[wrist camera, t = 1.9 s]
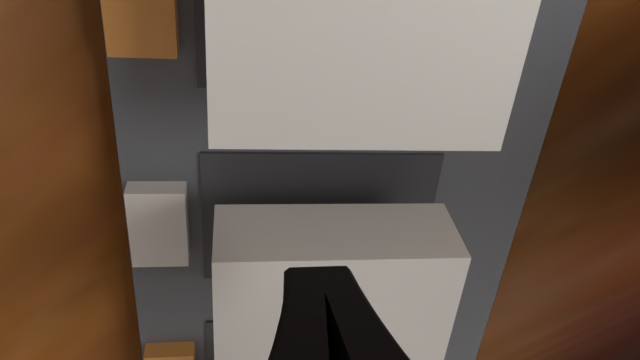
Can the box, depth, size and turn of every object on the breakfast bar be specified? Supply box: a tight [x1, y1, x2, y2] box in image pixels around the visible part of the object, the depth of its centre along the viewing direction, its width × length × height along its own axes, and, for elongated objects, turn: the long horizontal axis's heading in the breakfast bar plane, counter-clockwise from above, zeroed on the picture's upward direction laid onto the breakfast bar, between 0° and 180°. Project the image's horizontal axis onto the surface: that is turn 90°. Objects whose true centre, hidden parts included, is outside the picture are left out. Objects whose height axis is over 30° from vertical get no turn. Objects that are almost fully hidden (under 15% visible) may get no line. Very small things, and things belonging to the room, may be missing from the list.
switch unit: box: [99, 0, 588, 360], centre depth 23 cm, size 15×26×2 cm, turn 176°
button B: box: [212, 203, 471, 360], centre depth 19 cm, size 8×4×3 cm, turn 86°
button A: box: [204, 0, 541, 151], centre depth 15 cm, size 8×4×3 cm, turn 86°
